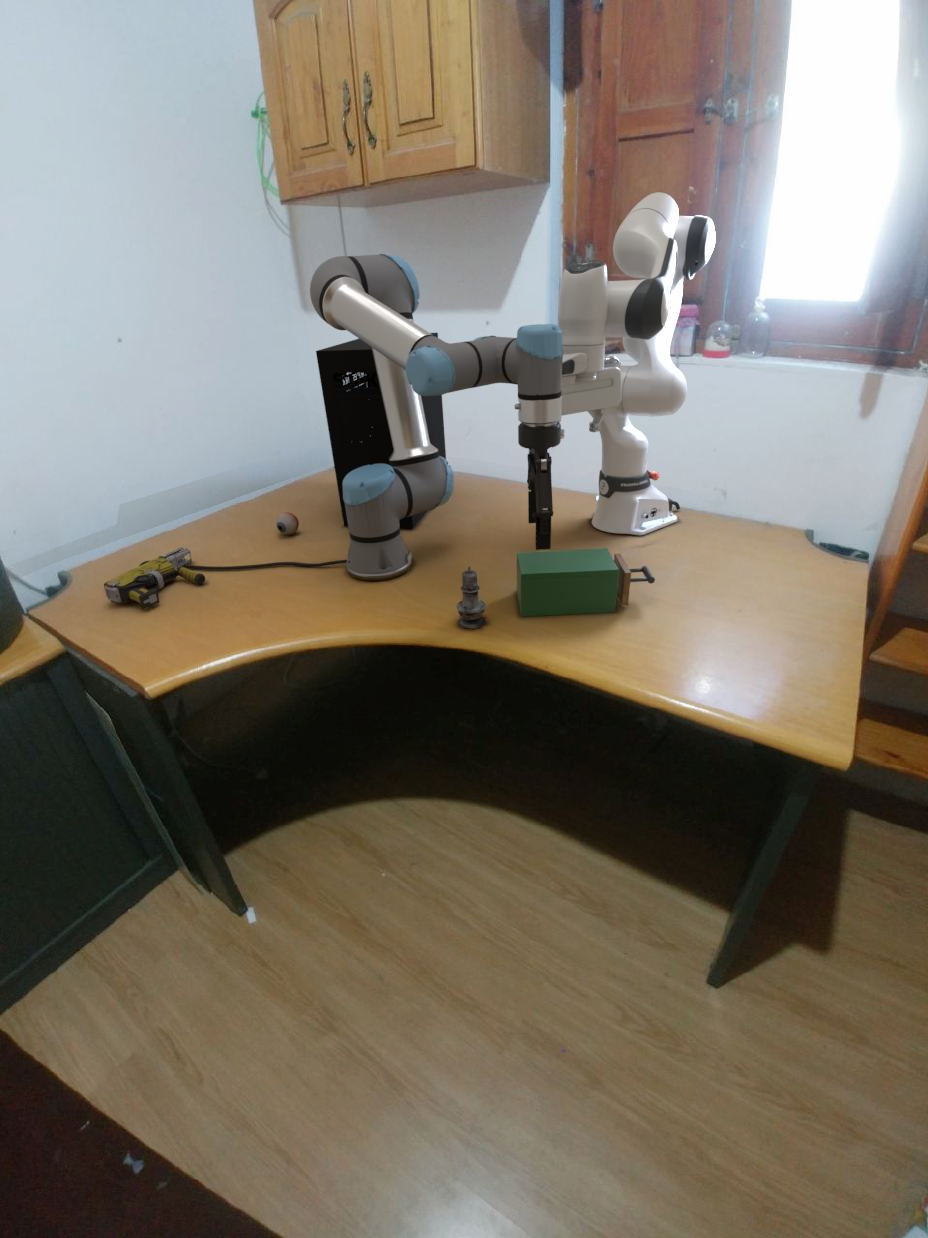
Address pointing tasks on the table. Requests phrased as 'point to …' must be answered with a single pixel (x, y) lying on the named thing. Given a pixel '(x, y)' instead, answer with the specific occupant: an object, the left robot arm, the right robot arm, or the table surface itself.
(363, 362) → the cardboard box
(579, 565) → the cabinet
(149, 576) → the toy gun
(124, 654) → the table surface
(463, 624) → the grey chess piece
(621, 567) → the drawer
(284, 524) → the eyeball
